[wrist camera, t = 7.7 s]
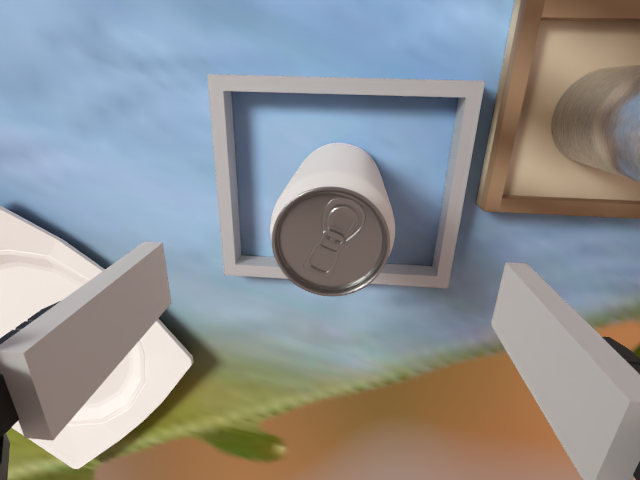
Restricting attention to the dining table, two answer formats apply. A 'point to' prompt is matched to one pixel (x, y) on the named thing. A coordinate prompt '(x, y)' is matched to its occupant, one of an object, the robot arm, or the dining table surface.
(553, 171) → the divided wooden tray
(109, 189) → the dining table surface
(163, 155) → the dining table surface
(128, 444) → the dining table surface
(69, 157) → the dining table surface
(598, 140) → the billet
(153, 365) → the plate
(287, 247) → the can
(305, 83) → the grey rectangular frame
